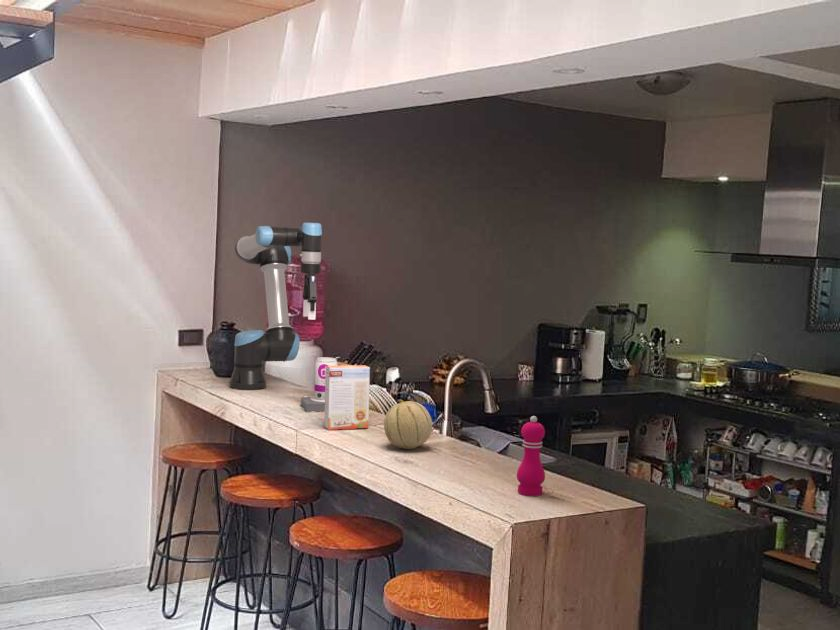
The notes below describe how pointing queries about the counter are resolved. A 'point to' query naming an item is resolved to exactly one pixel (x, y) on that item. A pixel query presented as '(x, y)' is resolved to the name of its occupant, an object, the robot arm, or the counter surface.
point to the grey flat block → (312, 404)
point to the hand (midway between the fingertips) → (309, 318)
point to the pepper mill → (531, 459)
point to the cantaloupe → (407, 424)
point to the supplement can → (322, 375)
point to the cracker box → (346, 397)
